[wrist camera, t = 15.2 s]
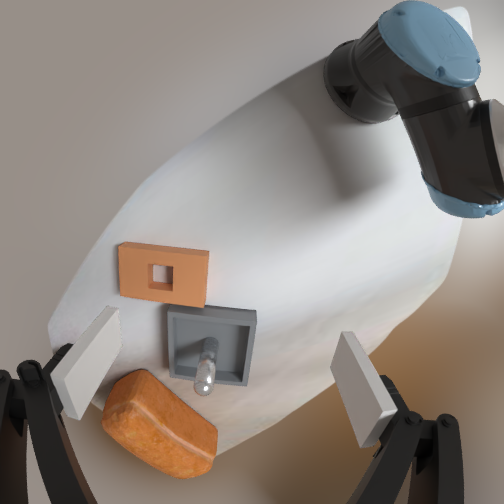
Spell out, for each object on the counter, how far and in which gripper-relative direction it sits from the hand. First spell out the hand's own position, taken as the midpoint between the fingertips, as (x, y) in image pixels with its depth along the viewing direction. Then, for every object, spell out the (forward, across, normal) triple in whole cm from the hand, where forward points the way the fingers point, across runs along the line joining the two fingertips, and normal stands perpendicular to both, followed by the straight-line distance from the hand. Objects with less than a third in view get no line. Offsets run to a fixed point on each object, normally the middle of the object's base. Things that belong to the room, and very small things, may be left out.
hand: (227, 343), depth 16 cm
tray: (+32, -3, -22) cm, 39 cm away
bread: (+32, -13, -45) cm, 57 cm away
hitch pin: (+31, -3, -22) cm, 38 cm away
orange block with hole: (+32, -12, -9) cm, 35 cm away
